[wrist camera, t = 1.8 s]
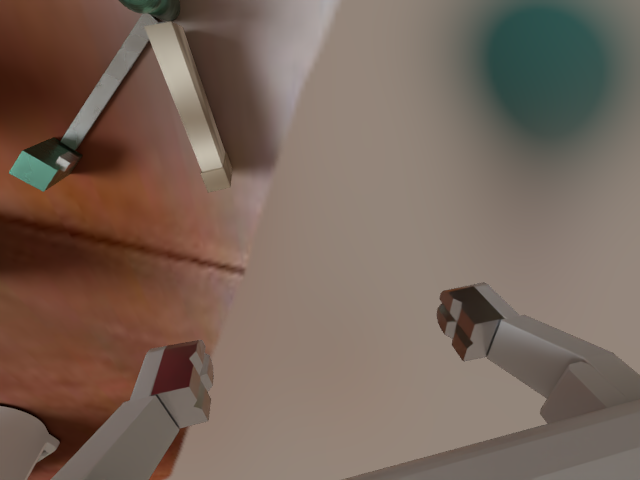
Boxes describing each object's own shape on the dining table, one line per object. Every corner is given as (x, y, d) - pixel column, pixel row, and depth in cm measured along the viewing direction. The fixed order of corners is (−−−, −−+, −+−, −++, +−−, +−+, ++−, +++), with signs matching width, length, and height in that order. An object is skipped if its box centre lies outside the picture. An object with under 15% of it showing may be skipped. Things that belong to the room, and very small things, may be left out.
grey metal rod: (76, 149, 27) (74, 150, 27) (62, 140, 27) (60, 141, 27) (160, 24, 24) (159, 23, 24) (146, 10, 24) (145, 10, 23)
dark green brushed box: (73, 175, 29) (47, 193, 25) (41, 157, 27) (8, 173, 23) (91, 150, 28) (67, 165, 24) (58, 129, 26) (27, 141, 23)
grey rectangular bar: (158, 28, 24) (139, 22, 20) (183, 24, 24) (169, 17, 20) (213, 173, 31) (208, 192, 26) (232, 169, 31) (230, 187, 27)
